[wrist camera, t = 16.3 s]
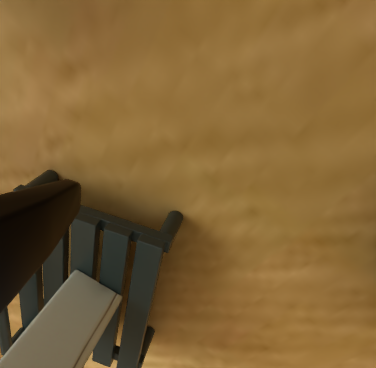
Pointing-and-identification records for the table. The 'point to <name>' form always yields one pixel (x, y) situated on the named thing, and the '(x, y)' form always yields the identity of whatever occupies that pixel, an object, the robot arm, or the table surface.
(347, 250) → the table surface
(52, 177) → the rack
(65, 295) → the cosmetic box
